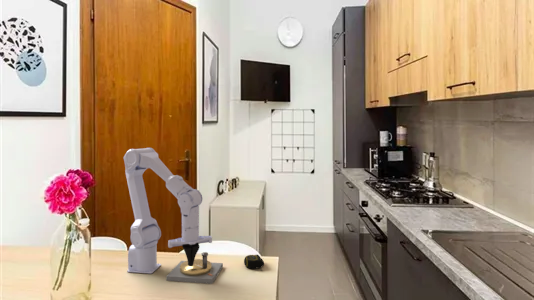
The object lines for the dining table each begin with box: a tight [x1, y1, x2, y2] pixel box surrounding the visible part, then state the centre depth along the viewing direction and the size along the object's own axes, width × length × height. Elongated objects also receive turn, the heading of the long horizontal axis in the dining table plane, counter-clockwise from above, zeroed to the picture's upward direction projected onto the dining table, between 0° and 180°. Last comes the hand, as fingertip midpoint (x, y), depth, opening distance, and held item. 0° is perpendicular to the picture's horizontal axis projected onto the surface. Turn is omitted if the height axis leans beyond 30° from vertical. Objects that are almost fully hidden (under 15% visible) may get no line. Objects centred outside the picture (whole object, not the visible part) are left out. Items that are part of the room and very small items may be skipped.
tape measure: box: [243, 254, 265, 270], centre depth 134 cm, size 7×7×4 cm
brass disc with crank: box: [180, 251, 212, 276], centre depth 127 cm, size 11×11×7 cm
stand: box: [165, 260, 224, 285], centre depth 128 cm, size 16×14×2 cm
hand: (190, 265), depth 123 cm, fingers closed
